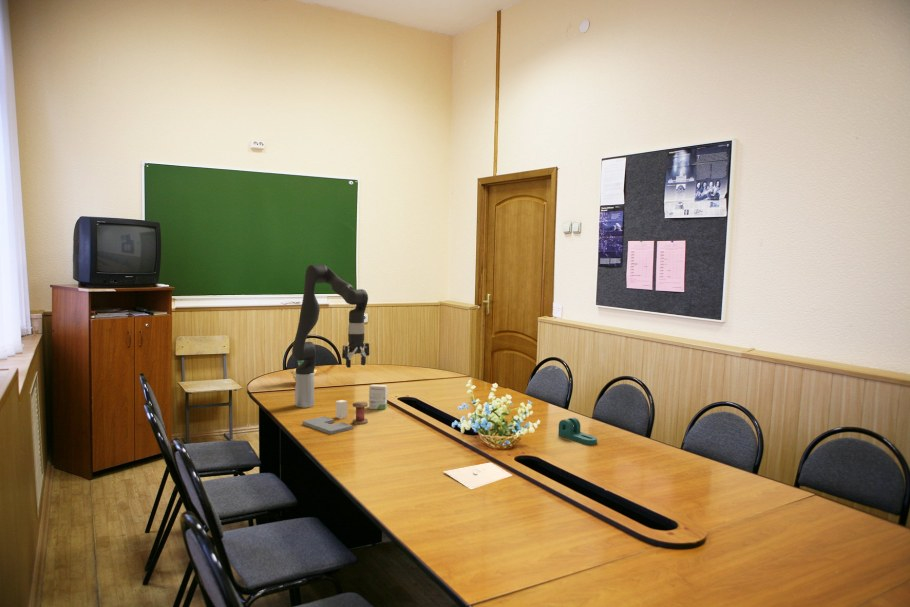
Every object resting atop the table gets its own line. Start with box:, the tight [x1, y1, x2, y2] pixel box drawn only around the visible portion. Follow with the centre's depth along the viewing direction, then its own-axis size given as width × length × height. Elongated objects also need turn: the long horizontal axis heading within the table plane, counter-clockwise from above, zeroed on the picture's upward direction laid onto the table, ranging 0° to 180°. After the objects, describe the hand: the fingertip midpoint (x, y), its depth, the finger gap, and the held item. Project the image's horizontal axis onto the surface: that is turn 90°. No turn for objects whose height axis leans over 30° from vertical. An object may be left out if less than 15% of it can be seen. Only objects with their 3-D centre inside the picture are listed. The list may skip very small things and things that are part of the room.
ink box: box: [368, 384, 388, 410], centre depth 308 cm, size 9×5×12 cm, turn 84°
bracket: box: [557, 417, 598, 446], centre depth 262 cm, size 18×7×8 cm, turn 37°
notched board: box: [302, 415, 354, 435], centre depth 274 cm, size 22×12×2 cm, turn 48°
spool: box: [352, 401, 369, 425], centre depth 282 cm, size 7×7×9 cm
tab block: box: [335, 399, 348, 420], centre depth 290 cm, size 4×4×8 cm
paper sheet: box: [443, 462, 513, 490], centre depth 212 cm, size 24×29×1 cm
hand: (355, 366), depth 281 cm, fingers open, 8 cm apart
